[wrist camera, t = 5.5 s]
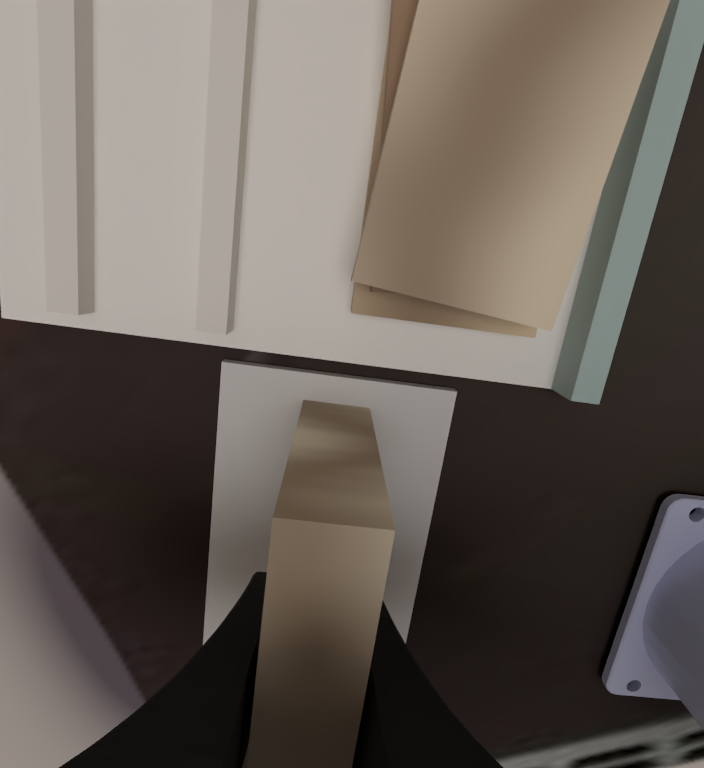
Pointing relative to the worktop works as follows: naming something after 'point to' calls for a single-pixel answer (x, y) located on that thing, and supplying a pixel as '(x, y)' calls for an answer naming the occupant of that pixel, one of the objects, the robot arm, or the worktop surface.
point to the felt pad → (269, 459)
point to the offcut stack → (494, 154)
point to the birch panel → (321, 592)
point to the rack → (267, 184)
